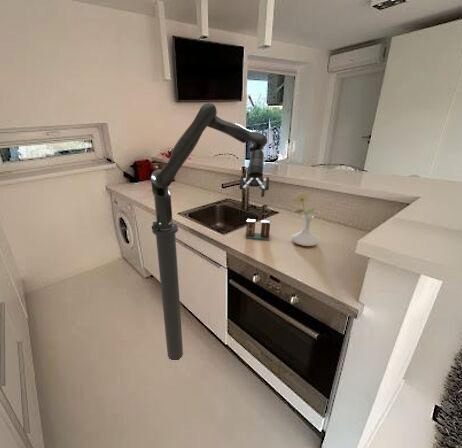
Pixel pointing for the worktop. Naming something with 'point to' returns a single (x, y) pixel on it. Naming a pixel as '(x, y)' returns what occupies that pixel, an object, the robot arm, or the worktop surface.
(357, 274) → the worktop surface
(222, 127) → the robot arm
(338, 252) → the worktop surface
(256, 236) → the word mat
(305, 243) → the flower in vase
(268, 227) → the brown white-topped cylinder
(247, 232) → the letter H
